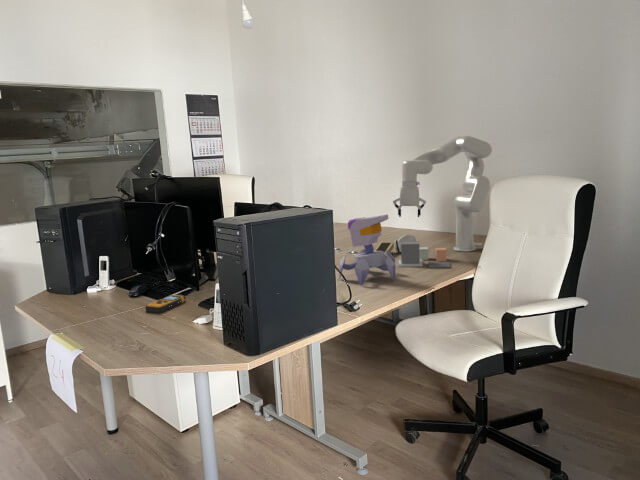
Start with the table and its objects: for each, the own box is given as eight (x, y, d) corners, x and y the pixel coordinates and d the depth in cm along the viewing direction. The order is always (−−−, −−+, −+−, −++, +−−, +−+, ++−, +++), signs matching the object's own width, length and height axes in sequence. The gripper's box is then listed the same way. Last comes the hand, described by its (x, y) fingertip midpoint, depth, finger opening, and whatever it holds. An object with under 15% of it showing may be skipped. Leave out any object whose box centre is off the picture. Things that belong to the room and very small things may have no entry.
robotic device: (363, 269, 247) (361, 209, 242) (408, 275, 231) (407, 212, 226) (331, 281, 227) (328, 217, 222) (378, 289, 211) (375, 220, 206)
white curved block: (403, 254, 275) (398, 237, 276) (397, 255, 279) (392, 239, 279) (421, 248, 286) (416, 232, 287) (414, 250, 290) (409, 234, 290)
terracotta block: (445, 259, 259) (445, 247, 257) (446, 261, 254) (446, 250, 253) (435, 259, 259) (435, 248, 258) (436, 261, 255) (436, 250, 253)
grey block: (427, 258, 263) (427, 247, 262) (428, 260, 258) (428, 249, 257) (418, 258, 264) (418, 247, 263) (418, 260, 259) (418, 249, 258)
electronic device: (144, 312, 198) (143, 304, 197) (171, 300, 212) (170, 293, 211) (160, 314, 194) (159, 306, 194) (186, 302, 208) (185, 294, 207)
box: (394, 249, 281) (393, 241, 279) (385, 265, 261) (384, 256, 260) (380, 249, 284) (379, 241, 282) (370, 265, 264) (369, 256, 263)
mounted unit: (421, 261, 255) (421, 240, 253) (422, 266, 246) (422, 244, 243) (398, 262, 257) (398, 241, 255) (398, 266, 247) (398, 245, 245)
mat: (448, 263, 249) (448, 261, 249) (450, 268, 240) (450, 266, 239) (428, 263, 251) (428, 261, 251) (429, 268, 241) (429, 266, 241)
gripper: (426, 183, 259) (426, 216, 262) (393, 184, 263) (393, 215, 266) (426, 184, 252) (425, 217, 255) (392, 185, 256) (392, 217, 259)
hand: (409, 216), depth 261 cm, fingers open, 9 cm apart
